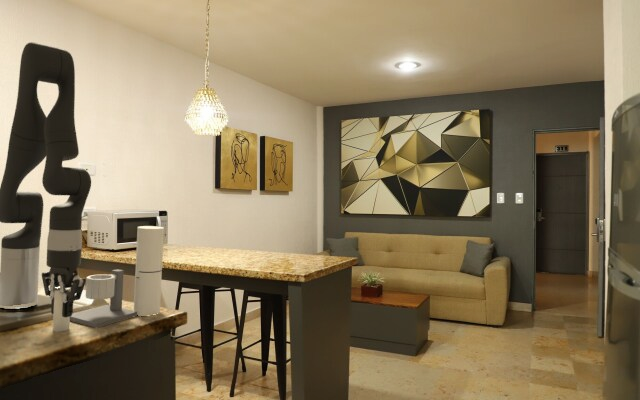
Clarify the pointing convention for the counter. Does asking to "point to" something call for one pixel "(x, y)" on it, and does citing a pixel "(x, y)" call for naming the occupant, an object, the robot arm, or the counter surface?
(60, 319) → the dowel
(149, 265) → the cylindrical container
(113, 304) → the cup bracket
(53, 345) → the counter surface
